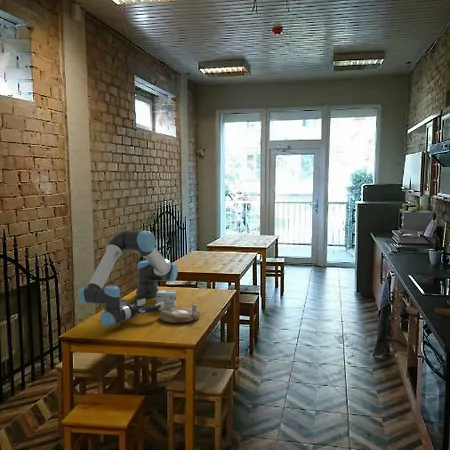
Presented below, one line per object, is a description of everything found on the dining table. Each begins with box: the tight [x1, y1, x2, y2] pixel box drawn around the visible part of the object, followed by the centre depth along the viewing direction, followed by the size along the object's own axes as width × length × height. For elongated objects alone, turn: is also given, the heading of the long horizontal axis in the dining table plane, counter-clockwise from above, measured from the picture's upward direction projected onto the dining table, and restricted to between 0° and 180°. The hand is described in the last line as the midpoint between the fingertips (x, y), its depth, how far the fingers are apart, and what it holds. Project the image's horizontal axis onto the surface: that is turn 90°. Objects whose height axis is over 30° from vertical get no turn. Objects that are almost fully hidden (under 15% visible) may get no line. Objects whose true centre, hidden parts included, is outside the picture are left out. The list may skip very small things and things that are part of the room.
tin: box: [103, 298, 129, 312], centre depth 256 cm, size 15×3×8 cm, turn 141°
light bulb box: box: [155, 289, 178, 312], centre depth 266 cm, size 11×7×11 cm, turn 84°
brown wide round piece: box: [158, 303, 201, 324], centre depth 249 cm, size 22×22×8 cm
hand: (154, 302), depth 257 cm, fingers open, 13 cm apart
